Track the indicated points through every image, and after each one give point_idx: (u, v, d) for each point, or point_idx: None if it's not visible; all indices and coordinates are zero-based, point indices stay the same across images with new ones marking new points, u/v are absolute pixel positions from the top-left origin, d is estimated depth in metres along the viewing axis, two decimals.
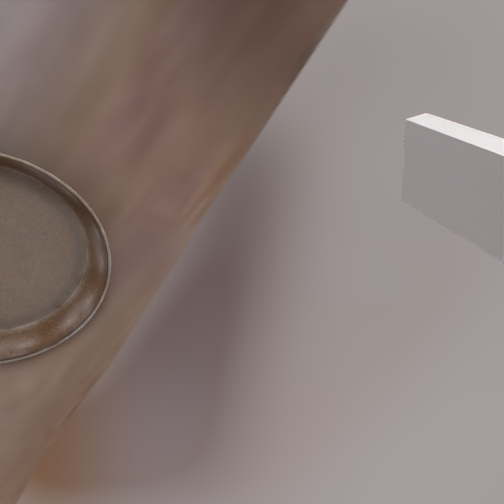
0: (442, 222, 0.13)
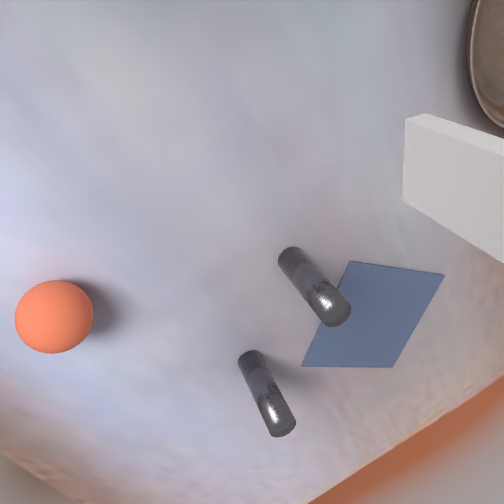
0: (442, 222, 0.13)
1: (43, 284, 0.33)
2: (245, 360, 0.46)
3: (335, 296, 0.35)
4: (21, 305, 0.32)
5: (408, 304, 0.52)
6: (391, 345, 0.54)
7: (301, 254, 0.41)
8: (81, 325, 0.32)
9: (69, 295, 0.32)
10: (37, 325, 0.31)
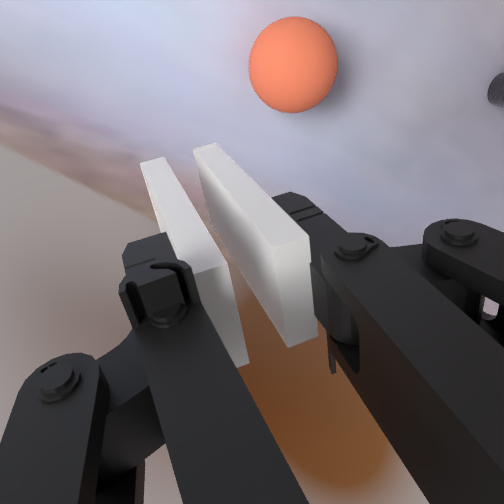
0: (226, 247, 0.13)
1: (267, 27, 0.26)
2: (500, 84, 0.36)
3: None
4: (256, 56, 0.26)
5: None
6: None
7: None
8: (331, 50, 0.26)
9: (304, 20, 0.25)
10: (288, 61, 0.25)
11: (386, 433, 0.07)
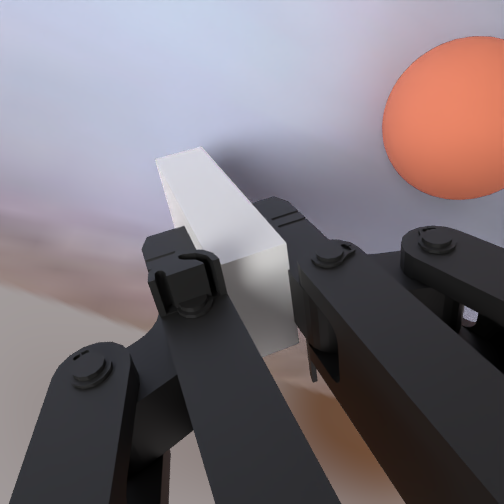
0: None
1: (429, 54, 0.15)
2: None
3: None
4: (415, 108, 0.14)
5: None
6: None
7: None
8: None
9: None
10: (487, 123, 0.13)
11: (368, 443, 0.07)
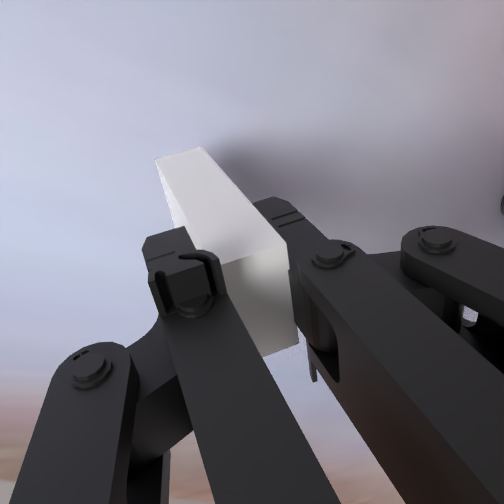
0: None
1: None
2: None
3: None
4: None
5: None
6: None
7: None
8: None
9: None
10: None
11: (368, 443, 0.07)
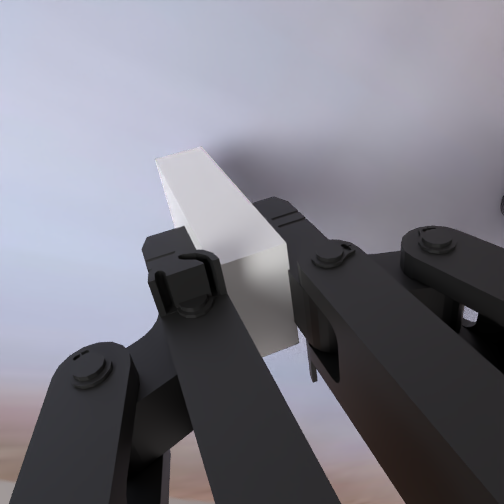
0: None
1: None
2: None
3: None
4: None
5: None
6: None
7: None
8: None
9: None
10: None
11: (368, 443, 0.07)
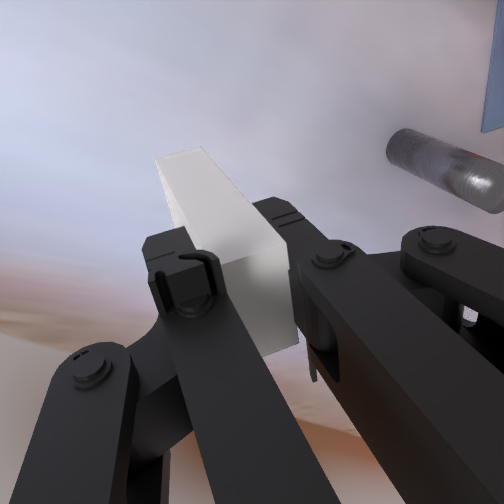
0: None
1: None
2: (397, 144, 0.30)
3: None
4: None
5: None
6: None
7: None
8: None
9: None
10: None
11: (368, 443, 0.07)
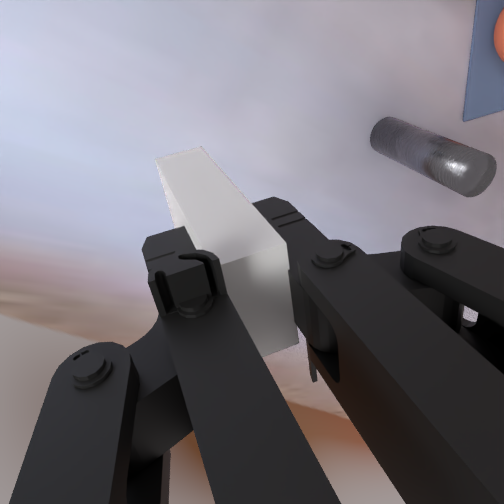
0: None
1: None
2: (380, 132, 0.31)
3: None
4: None
5: None
6: None
7: None
8: None
9: None
10: (498, 18, 0.30)
11: (368, 443, 0.07)
